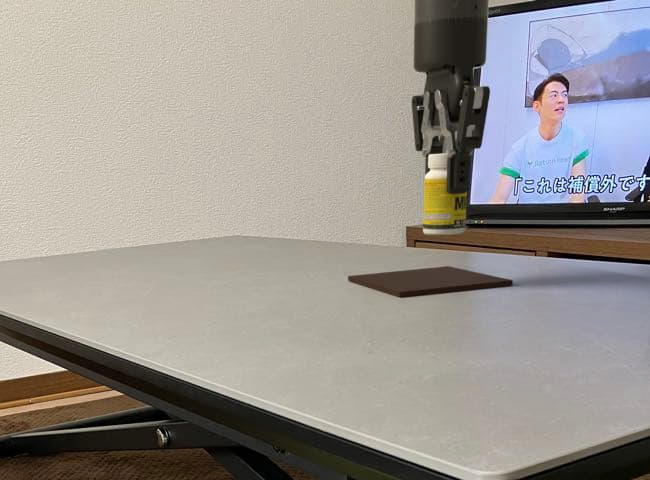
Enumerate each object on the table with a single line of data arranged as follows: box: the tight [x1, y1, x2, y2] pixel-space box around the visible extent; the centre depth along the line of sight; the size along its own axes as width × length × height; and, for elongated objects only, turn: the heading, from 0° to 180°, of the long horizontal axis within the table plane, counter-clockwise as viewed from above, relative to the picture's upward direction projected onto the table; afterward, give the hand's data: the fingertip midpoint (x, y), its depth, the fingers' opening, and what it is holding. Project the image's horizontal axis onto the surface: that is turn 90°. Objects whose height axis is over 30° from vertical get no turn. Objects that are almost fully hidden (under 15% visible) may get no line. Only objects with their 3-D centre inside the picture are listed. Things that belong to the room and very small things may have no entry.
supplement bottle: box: [422, 152, 468, 236], centre depth 101 cm, size 5×5×8 cm
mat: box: [347, 265, 513, 298], centre depth 109 cm, size 14×16×1 cm
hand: (445, 192), depth 101 cm, fingers closed on supplement bottle, 4 cm apart
